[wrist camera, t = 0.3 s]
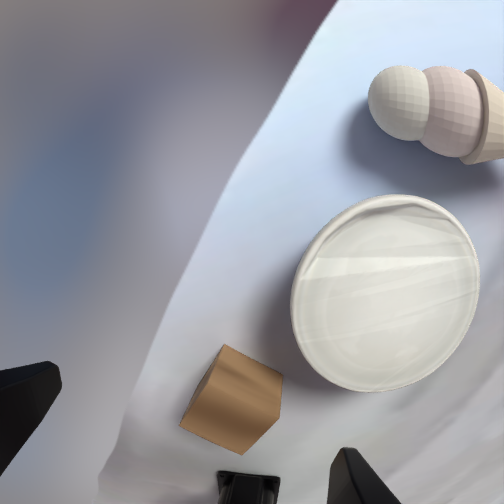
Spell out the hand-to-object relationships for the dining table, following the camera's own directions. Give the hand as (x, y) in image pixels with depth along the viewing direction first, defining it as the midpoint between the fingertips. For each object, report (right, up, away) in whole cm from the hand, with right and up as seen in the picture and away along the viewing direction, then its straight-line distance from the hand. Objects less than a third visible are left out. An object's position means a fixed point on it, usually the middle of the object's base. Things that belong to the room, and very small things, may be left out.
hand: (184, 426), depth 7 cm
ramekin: (+10, +3, +12) cm, 16 cm away
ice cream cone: (+16, +14, +9) cm, 23 cm away
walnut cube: (+1, -5, +15) cm, 16 cm away
